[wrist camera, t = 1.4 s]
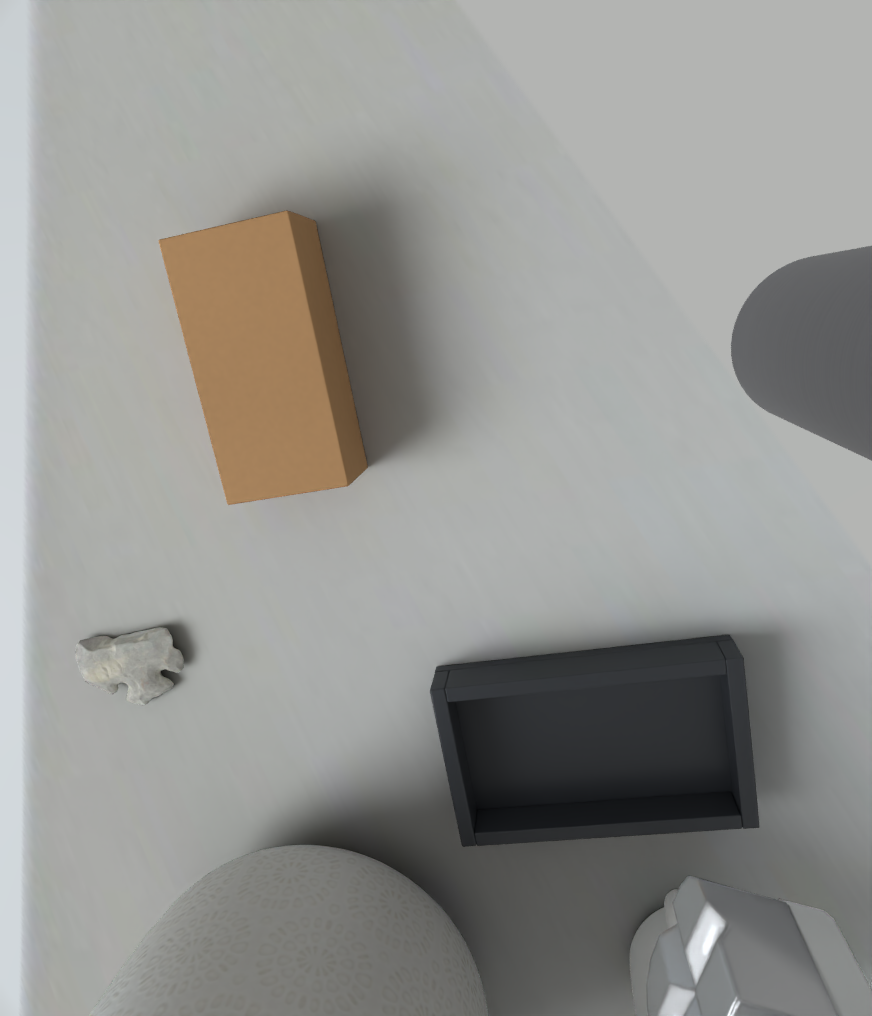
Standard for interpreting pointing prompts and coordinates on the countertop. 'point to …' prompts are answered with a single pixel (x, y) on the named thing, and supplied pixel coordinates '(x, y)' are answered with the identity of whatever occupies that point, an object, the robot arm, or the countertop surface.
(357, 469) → the pad
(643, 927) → the mug
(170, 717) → the countertop surface
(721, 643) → the pad base
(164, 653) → the stone
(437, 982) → the planter
